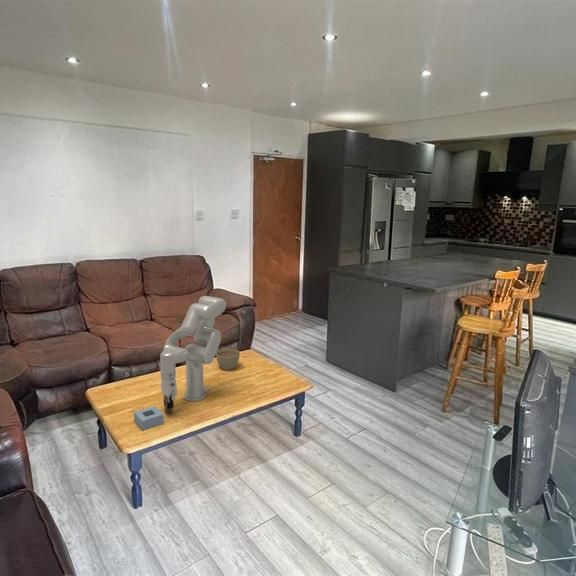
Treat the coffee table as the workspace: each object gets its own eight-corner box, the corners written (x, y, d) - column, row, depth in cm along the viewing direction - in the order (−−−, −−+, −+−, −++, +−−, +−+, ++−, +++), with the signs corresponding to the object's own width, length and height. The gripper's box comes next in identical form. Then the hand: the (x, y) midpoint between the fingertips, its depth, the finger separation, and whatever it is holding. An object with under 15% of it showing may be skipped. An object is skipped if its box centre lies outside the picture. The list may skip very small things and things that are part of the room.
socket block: (155, 414, 217) (154, 405, 216) (163, 423, 209) (163, 414, 208) (134, 420, 210) (133, 411, 209) (142, 430, 202) (142, 421, 201)
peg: (170, 410, 222) (170, 389, 219) (173, 413, 219) (173, 392, 217) (164, 412, 220) (163, 391, 217) (167, 415, 217) (166, 394, 215)
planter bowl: (210, 367, 281) (210, 352, 278) (228, 361, 293) (228, 346, 291) (226, 374, 271) (226, 359, 268) (244, 367, 283) (244, 352, 281)
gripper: (182, 378, 211) (182, 411, 215) (168, 367, 224) (168, 398, 227) (168, 381, 206) (168, 415, 210) (154, 370, 219) (155, 402, 222)
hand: (168, 406), depth 219 cm, fingers closed on peg, 3 cm apart
